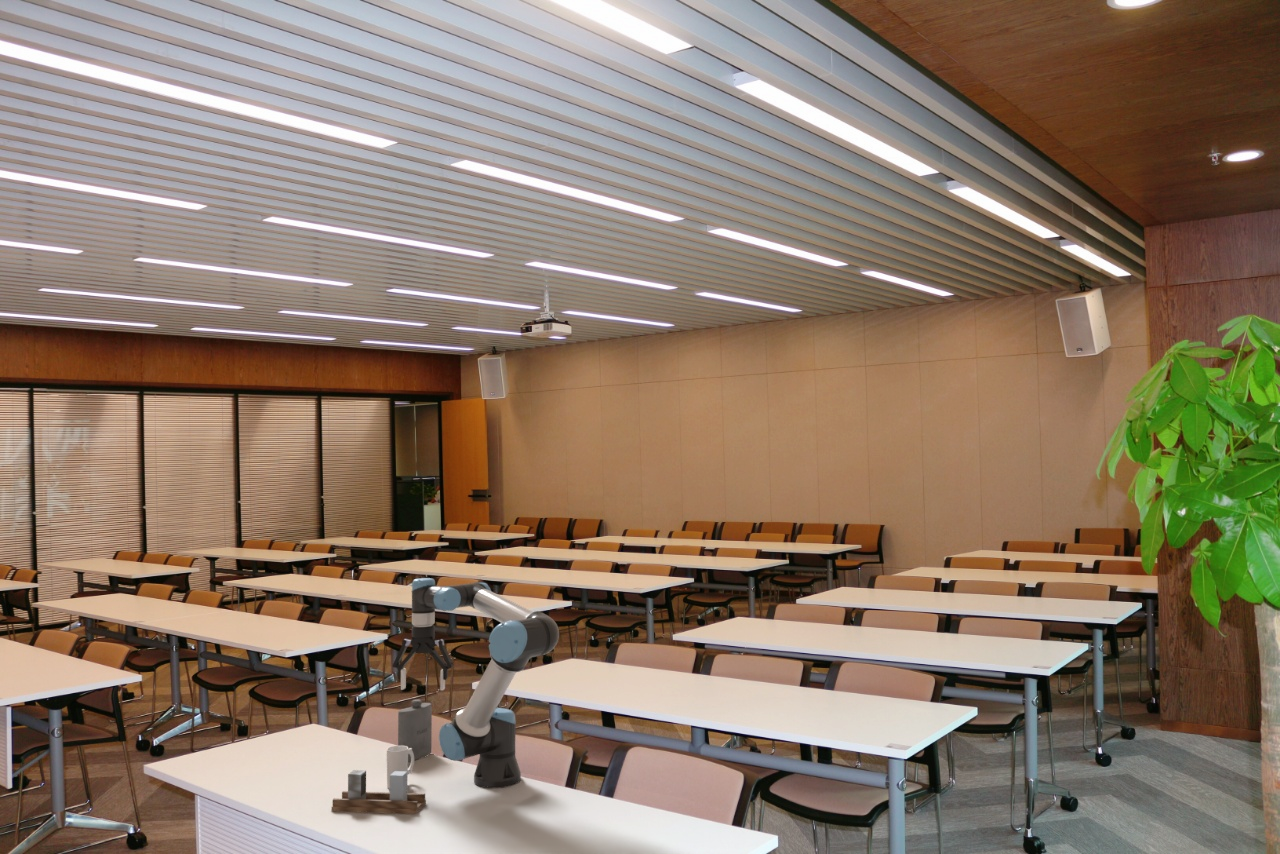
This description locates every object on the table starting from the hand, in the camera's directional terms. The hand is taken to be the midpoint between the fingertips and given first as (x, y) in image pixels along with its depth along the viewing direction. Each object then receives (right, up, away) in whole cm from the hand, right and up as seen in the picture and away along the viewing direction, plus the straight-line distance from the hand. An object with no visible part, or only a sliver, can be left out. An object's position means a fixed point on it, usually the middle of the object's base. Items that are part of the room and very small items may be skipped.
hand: (422, 689), depth 318 cm
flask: (-7, -30, +21) cm, 37 cm away
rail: (-6, -27, -31) cm, 41 cm away
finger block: (0, -26, -31) cm, 40 cm away
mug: (-5, -29, -10) cm, 30 cm away
